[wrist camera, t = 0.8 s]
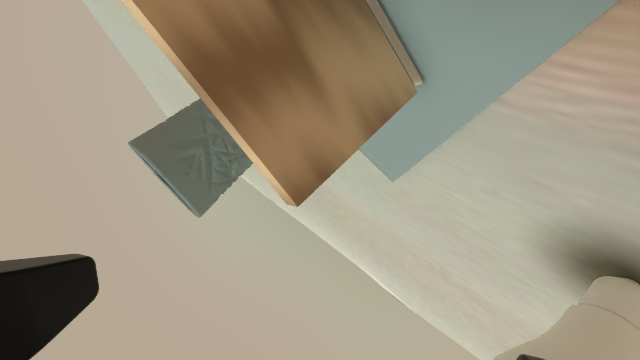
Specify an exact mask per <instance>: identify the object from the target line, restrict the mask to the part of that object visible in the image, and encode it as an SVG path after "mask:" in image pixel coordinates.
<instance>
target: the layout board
mask: <svg viewBox="0 0 640 360" xmlns="http://www.w3.org/2000/svg"><path fill="white" fill-rule="evenodd" d="M364 1H365V2H366V4H367V6H368V8H369V9H370V11H371V13H372V14H373V16H374V18H375V20H376V21H377V23H378V25H379V26H380V28H381V30H382V32H383V33H384V35H385V37H386V39H387V40H388V42H389V44H390V45H391V47H392V49H393V51H394V52H395V54H396V56H397V58H398V59H399V61H400V63H401V64H402V66H403V68H404V70H405V71H406V73H407V75H408V77H409V78H410V80H411V82H412V83H413V85H414V87H415V89H416V90H417V92H418V93H417V94H416V95H415V96H414V97H412V98H411V99H410V100H409V101H408V102H407V103H406V104H405V105H404V106H403V107H402V108H401V109H400V110H399V111H398V112H397V113H396V114H395V115H394V116H393V117H392V118H390V119H389V120H388V121H387V122H386V123H385V124H384V125H383V126H382V127H381V128H380V129H379V130H378V131H377V132H376V133H375V134H374V135H373V136H372V137H371V138H370V139H368V140H367V141H366V142H365V143H364V144H363V145H362V146H361V147H360V148H359V150H360V151H361V152H362V153H363V154H364V155H365V156H366V157H367V158H368V159H369V160H370V161H371V162H372V163H373V164H374V165H375V166H376V167H377V168H378V169H379V170H380V171H381V172H382V173H384V174H385V175H386V176H387V177H388V178H389V179H390V180H391V181H392V182H394V181H395V180H396V179H397V178H399V177H400V176H401V175H402V174H404V173H405V172H406V171H407V170H409V169H410V168H411V167H412V166H414V165H415V164H416V163H417V162H419V161H420V160H421V159H422V158H424V157H425V156H426V155H427V154H429V153H430V152H431V151H432V150H434V149H435V148H436V147H437V146H439V145H440V144H441V143H442V142H444V141H445V140H446V139H447V138H449V137H450V136H451V135H452V134H454V133H455V132H456V131H457V130H459V129H460V128H461V127H462V126H464V125H465V124H466V123H467V122H469V121H470V120H471V119H472V118H474V117H475V116H476V115H477V114H479V113H480V112H481V111H482V110H484V109H485V108H486V107H487V106H489V105H490V104H491V103H492V102H494V101H495V100H496V99H497V98H499V97H500V96H501V95H502V94H504V93H505V92H506V91H507V90H509V89H510V88H511V87H512V86H513V85H515V84H516V83H517V82H518V81H520V80H521V79H522V78H523V77H525V76H526V75H527V74H528V73H530V72H531V71H532V70H533V69H535V68H536V67H537V66H538V65H540V64H541V63H542V62H543V61H545V60H546V59H547V58H548V57H550V56H551V55H552V54H553V53H555V52H556V51H557V50H558V49H560V48H561V47H562V46H563V45H565V44H566V43H567V42H568V41H570V40H571V39H572V38H573V37H575V36H576V35H577V34H578V33H580V32H581V31H582V30H583V29H585V28H586V27H587V26H588V25H590V24H591V23H592V22H593V21H595V20H596V19H597V18H598V17H600V16H601V15H602V14H603V13H605V12H606V11H607V10H608V9H610V8H611V7H612V6H613V5H615V4H616V3H617V2H618V1H620V0H364Z"/></svg>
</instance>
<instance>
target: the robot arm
mask: <svg viewBox="0 0 640 360" xmlns="http://www.w3.org/2000/svg"><path fill="white" fill-rule="evenodd" d="M98 291H99V283H98V277H97V271H96V264H95V261H94V260H93V259H92V258H91V257H89V256H85V255H81V254H67V255H57V256H48V257H37V258H27V259H18V260H7V261H0V360H29V359H31V358H32V357H33V356H34V355H36V354H37V353H38V352H39V351H40V350H41V349H43V348H44V347H45V346H46V345H47V344H48V343H49V342H50V341H51V340H52V339H53V338H54V337H55V336H56V335H58V334H59V333H60V332H61V331H62V330H63V329H64V328H65V327H66V326H67V325H68V324H69V323H70V322H71V321H72V320H73V319H74V318H76V317H77V316H78V315H79V314H80V313H81V312H82V311H83V310H84V309H85V308H86V307H87V306H88V305H89V304H90V303H91V302H92V301H93V300H94V299H95V298H96V296H97V294H98ZM516 360H545V359H543V358H539V357H535V356H530V355H526V354H521V355H519V356H518V358H517V359H516Z"/></svg>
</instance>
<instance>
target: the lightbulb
mask: <svg viewBox="0 0 640 360" xmlns="http://www.w3.org/2000/svg"><path fill="white" fill-rule="evenodd" d="M521 354H526V355H530V356H535V357H539V358H543V359H545V360H640V284H638V283H637V282H635V281H633V280H631V279H627V278H618V277H613V276H604V277H599V278H596V279H595V280H594V281H593V283H592V284H591V286H589V287H588V289H587V291H586V292H585V293H584V295H583V297H582V298H581V299H580V300H579V302H578V304H577V305H572V306H571V307H569V308H568V309H567V310H566V312H565V313H564V314H563V316H562V317H561V319H560V320H559V321H558V322H557V323H556V324H555V325H554V326H553V327H552V328H551V329H550V330H549V331H547V332H546V333H544V334H543V335H541V336H540V337H538V338H537V339H535V340H532V341H529V342H527V343H524V344H521V345H519V346H516V347H514V348H512V349H510V350H508V351H506V352H504V353H502V354H500V355H498V356H497V357H495V358H494V359H493V360H516V359H517V358H518V356H519V355H521Z"/></svg>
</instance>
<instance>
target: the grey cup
mask: <svg viewBox="0 0 640 360" xmlns="http://www.w3.org/2000/svg"><path fill="white" fill-rule="evenodd" d="M128 144H129V146H130V147H131V148H132V150H133V151H134V152H135V153H136V154H137V155H138V156H139V158H140V159H141V160H142V161H143V162H144V163H145V164H146V165H147V166H148V168H149V169H150V170H151V171H152V172H153V173H154V174H155V175H156V176H157V177H158V178H159V180H160V181H161V182H162V183H163V184H164V185H165V186H166V187H167V188H168V189H169V190H170V191H171V192H172V193H173V194H174V195H175V196H176V197H177V198H178V199H179V200H180V201H181V202H182V203H183V204H184V205H185V206H186V207H187V208H188V209H189V210H190V211H191V212H192V213H193V214H194V215H196V216H197V217H198V218H199V217H201V216H202V215H203V214H204V213H205V212H206V211H207V210H208V209H209V208H210V207H211V206H212V205H213V204H214V203H215V202H216V201H217V200H218V198H219V196H220V195H221V194H223V193H224V192H225V191H226V190H227V188H229V187H230V186H231V185H232V183H233V182H235V181H236V180H237V179H238V177H239V176H240V175H242V174H243V172H244V171H245V170H246V169H248V168H249V167H250V166H251V164H253V162H252V161H251V160H250V158H249V157H248V156H247V155H246V153H245V152H244V151H243V150H242V149H241V147H240V146H239V145H238V144H237V142H236V141H235V140H234V139H233V137H232V136H231V135H230V134H229V133H228V131H227V130H226V129H225V128H224V126H223V125H222V124H221V123H220V121H219V120H218V119H217V118H216V117H215V115H214V114H213V113H212V112H211V110H210V109H209V108H208V107H207V105H206V104H205V103H204V102H203V101H202V99H201V98H200V99H199V100H198V101H195V102H193V103H191V105H190V106H187V107H185V108H184V109H182V110H180V111H179V112H178V113H176V114H175V115H174V116H171V117H169V118H168V119H167V120H166V121H165V122H163V123H160V124H158V125H157V126H155V127H154V128H152V129H150V130H148V131H147V132H145V133H143V134H142V135H140V136H138V137H137V138H135V139H133V140H132V141H130V142H128Z"/></svg>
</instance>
